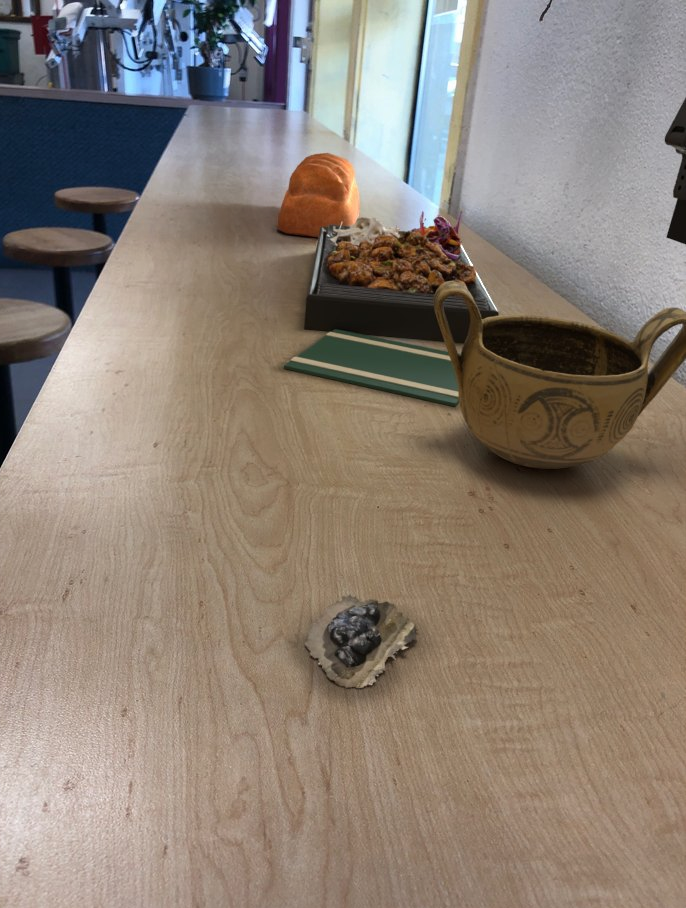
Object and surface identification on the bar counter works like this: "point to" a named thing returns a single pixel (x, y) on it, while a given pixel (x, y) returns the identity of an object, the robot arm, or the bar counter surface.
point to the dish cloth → (381, 366)
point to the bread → (319, 196)
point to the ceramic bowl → (555, 381)
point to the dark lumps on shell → (358, 639)
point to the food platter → (391, 281)
